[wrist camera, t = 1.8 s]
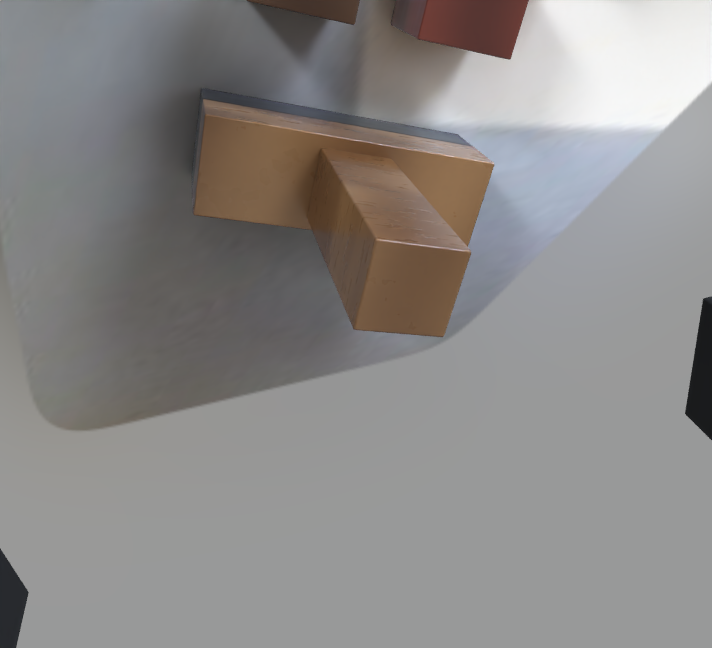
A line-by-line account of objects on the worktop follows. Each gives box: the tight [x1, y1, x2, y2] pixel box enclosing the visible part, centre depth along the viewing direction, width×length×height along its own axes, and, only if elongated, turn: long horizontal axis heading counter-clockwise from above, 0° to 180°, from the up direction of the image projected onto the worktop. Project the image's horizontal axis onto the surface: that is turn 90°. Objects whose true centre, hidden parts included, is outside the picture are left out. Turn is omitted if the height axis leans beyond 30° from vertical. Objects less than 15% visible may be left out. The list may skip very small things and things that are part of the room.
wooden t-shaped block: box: [192, 88, 494, 337], centre depth 26 cm, size 12×4×14 cm, turn 78°
